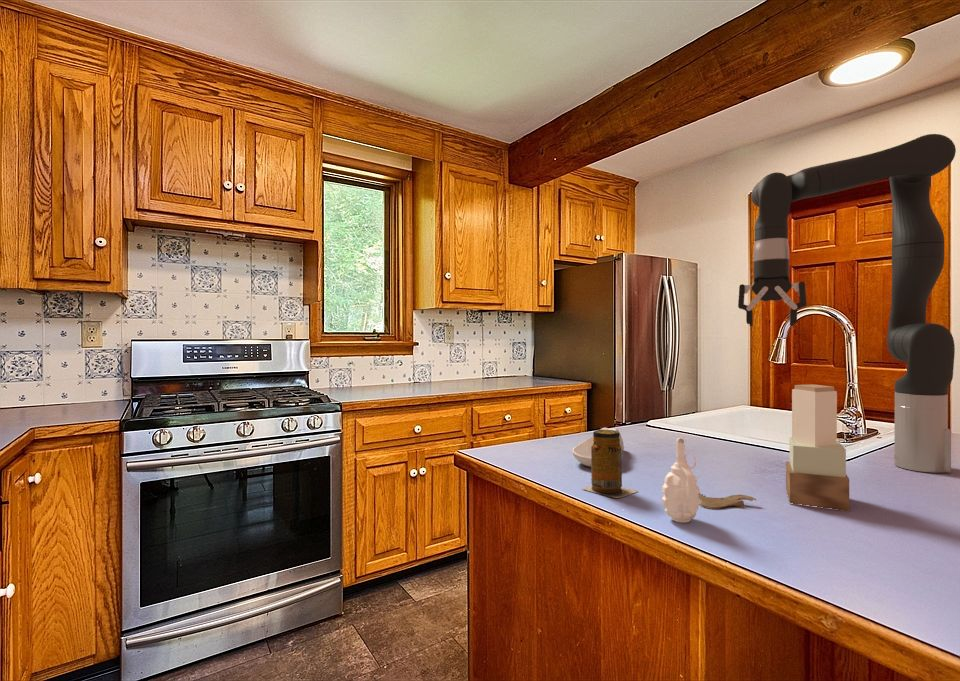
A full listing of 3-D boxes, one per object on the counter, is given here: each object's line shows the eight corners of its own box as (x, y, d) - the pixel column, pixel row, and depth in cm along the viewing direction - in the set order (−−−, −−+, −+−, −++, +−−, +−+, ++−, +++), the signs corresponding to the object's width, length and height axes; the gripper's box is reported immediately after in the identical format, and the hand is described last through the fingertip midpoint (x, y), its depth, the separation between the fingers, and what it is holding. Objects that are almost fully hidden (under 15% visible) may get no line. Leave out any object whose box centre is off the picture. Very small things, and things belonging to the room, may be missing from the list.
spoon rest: (615, 475, 115) (615, 443, 115) (565, 469, 120) (565, 439, 120) (636, 452, 136) (636, 425, 136) (593, 448, 141) (593, 422, 141)
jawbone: (725, 521, 89) (725, 509, 89) (638, 491, 107) (637, 481, 107) (757, 507, 93) (756, 496, 93) (668, 480, 111) (667, 471, 111)
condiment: (603, 482, 109) (603, 427, 108) (638, 492, 102) (637, 432, 102) (581, 489, 104) (581, 431, 104) (616, 500, 97) (616, 438, 97)
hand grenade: (655, 513, 90) (654, 435, 89) (689, 512, 90) (688, 434, 90) (675, 530, 82) (674, 444, 82) (711, 528, 83) (711, 443, 83)
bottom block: (840, 497, 98) (840, 466, 97) (849, 512, 90) (849, 478, 89) (785, 491, 102) (785, 461, 102) (789, 505, 94) (789, 472, 94)
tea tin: (812, 439, 99) (813, 384, 99) (836, 444, 94) (836, 386, 94) (792, 440, 98) (792, 385, 97) (815, 446, 93) (815, 387, 92)
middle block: (838, 466, 97) (838, 440, 97) (845, 477, 90) (845, 449, 90) (789, 462, 101) (789, 437, 101) (793, 472, 94) (793, 445, 94)
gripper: (737, 259, 123) (738, 326, 123) (807, 254, 116) (807, 325, 116) (738, 263, 129) (738, 326, 129) (804, 258, 123) (804, 325, 123)
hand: (771, 326), depth 123 cm, fingers open, 8 cm apart
